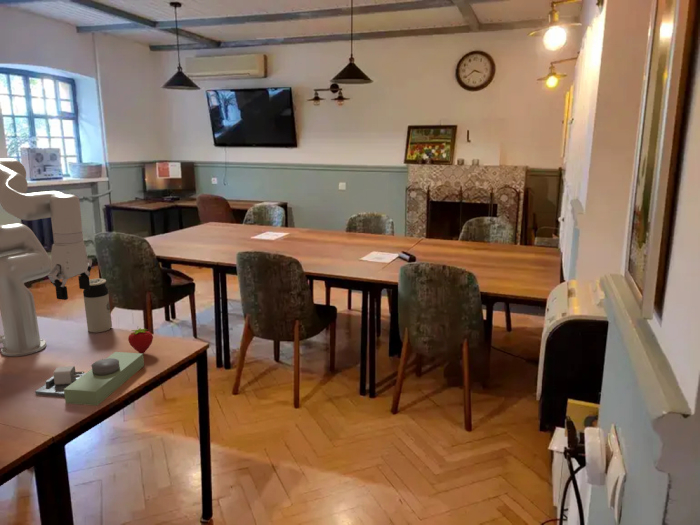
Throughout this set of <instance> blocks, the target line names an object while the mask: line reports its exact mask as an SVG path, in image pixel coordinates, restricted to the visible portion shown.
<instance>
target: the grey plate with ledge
mask: <svg viewBox="0 0 700 525" xmlns="http://www.w3.org/2000/svg"><path fill="white" fill-rule="evenodd" d="M85 373H86V372H84V374H85ZM84 374H76V375H80V377H81V375H82V376H83V375H84ZM80 377H78V378H76V379H75V381H76V380H77V379H79V378H80ZM44 382H45V384H43V385H42V386H41V387H39V388H38V389H36V390H35V391H34V394H35V395H36V396H50V397H63V398H65V395H64V389H65V388H66V387H68V386H69V385H70V384H61V385H55V383H54V376H53V375H52V376H51V377H49V378H48V379H47V380H45V381H44Z"/></svg>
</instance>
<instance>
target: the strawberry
mask: <svg viewBox="0 0 700 525" xmlns="http://www.w3.org/2000/svg"><path fill="white" fill-rule="evenodd" d="M131 332H132V333H130V334H129V335H128V338H127V339H128V340H127V341H128V342H129V346H131V347H132V348H133V349H134V350H135V351H137V353H141V354H143V355H144V354H145V353H146V351H147V350H148V349H149V348H150V346H151V345H152V344H153V340H154V336H153V334H152V332H150V331H149V330H148V329H146V328H141V327H138V328H137V329H131Z"/></svg>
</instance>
